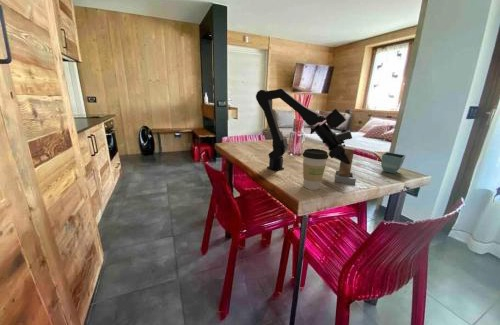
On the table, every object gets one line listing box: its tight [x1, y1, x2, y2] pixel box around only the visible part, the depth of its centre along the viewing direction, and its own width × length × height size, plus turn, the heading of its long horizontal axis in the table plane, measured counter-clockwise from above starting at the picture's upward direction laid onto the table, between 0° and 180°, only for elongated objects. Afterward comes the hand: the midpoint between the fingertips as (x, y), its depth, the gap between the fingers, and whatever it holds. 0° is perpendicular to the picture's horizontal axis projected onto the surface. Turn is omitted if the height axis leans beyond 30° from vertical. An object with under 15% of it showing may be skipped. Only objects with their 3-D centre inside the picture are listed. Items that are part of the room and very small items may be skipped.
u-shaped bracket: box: [334, 169, 357, 185], centre depth 98 cm, size 8×9×2 cm
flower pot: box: [381, 151, 406, 174], centre depth 110 cm, size 9×9×9 cm
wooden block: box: [338, 146, 355, 177], centre depth 96 cm, size 4×4×13 cm
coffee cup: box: [302, 148, 329, 191], centre depth 87 cm, size 10×10×15 cm
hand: (349, 162), depth 96 cm, fingers closed on wooden block, 4 cm apart
